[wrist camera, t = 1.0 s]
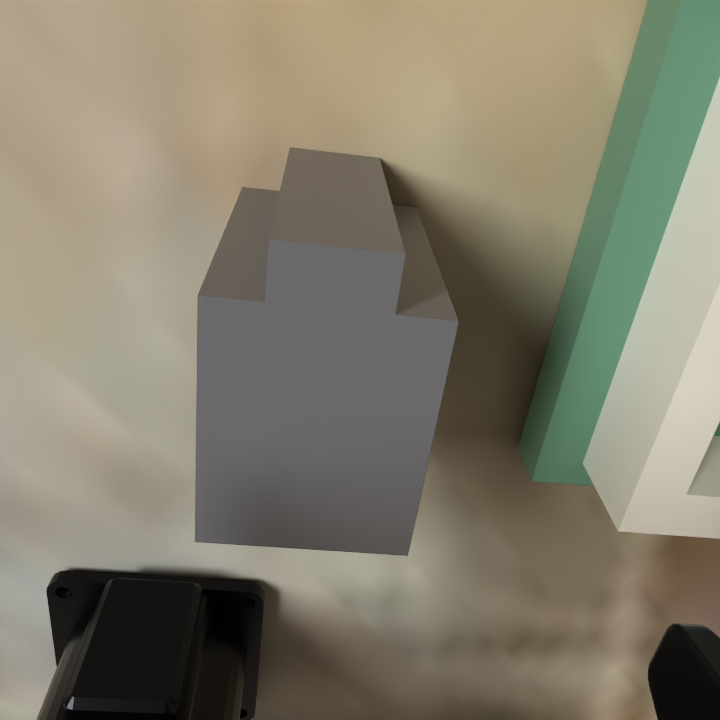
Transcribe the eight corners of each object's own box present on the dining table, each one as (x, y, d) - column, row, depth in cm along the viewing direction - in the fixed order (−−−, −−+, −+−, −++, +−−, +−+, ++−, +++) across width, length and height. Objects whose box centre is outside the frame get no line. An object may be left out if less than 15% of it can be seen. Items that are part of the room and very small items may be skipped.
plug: (385, 389, 18) (407, 555, 13) (234, 376, 18) (195, 541, 13) (423, 163, 15) (471, 260, 10) (244, 141, 15) (198, 231, 10)
